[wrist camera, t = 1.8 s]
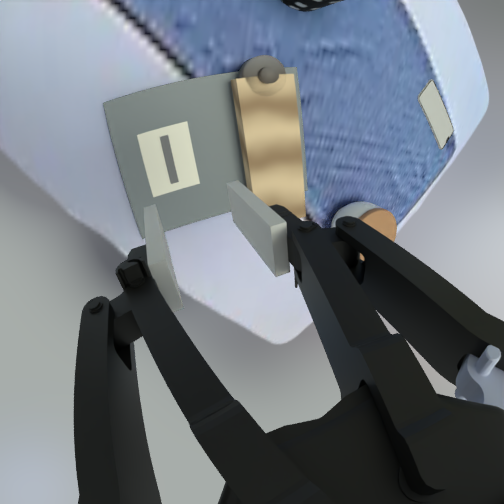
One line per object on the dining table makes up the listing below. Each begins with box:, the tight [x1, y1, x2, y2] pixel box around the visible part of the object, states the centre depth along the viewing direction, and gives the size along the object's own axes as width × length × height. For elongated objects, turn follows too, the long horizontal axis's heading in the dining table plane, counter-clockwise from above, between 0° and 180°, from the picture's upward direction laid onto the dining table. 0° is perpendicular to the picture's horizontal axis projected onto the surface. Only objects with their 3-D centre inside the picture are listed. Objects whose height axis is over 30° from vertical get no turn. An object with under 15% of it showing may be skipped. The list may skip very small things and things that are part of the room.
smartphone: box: [418, 79, 453, 150], centre depth 44 cm, size 7×1×15 cm
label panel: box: [103, 67, 307, 239], centre depth 33 cm, size 18×24×2 cm
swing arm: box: [231, 55, 306, 218], centre depth 32 cm, size 22×7×3 cm, turn 8°
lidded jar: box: [331, 202, 397, 261], centre depth 44 cm, size 11×11×9 cm
